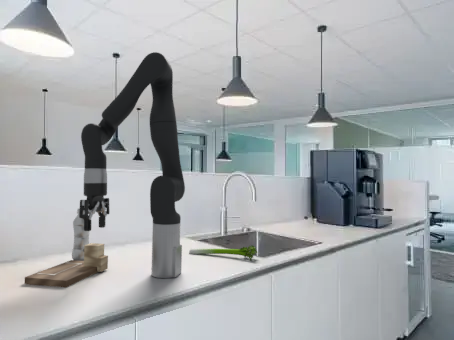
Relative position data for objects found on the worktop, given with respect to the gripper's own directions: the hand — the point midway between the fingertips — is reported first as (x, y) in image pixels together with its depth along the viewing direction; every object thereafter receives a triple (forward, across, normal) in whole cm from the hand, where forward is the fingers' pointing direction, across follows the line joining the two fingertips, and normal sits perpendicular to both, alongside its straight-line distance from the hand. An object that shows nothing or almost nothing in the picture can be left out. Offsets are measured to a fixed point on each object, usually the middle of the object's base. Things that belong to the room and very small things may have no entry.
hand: (95, 229), depth 110 cm
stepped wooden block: (+14, 0, 0) cm, 14 cm away
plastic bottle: (+14, +12, +13) cm, 23 cm away
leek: (+16, +32, -39) cm, 52 cm away
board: (+14, -6, +5) cm, 16 cm away
